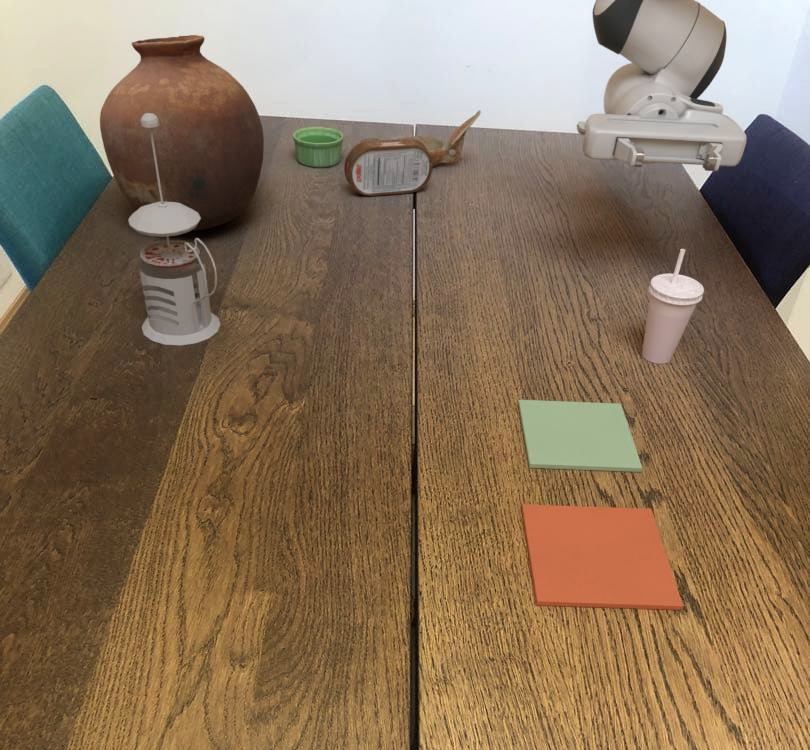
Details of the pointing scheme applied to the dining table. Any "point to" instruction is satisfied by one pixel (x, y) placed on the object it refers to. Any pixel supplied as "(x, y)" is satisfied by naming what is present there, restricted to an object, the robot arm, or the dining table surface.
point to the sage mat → (577, 436)
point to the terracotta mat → (598, 558)
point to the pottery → (183, 132)
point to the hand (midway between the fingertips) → (675, 162)
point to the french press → (172, 298)
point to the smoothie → (669, 312)
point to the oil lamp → (441, 149)
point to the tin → (388, 167)
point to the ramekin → (318, 146)
